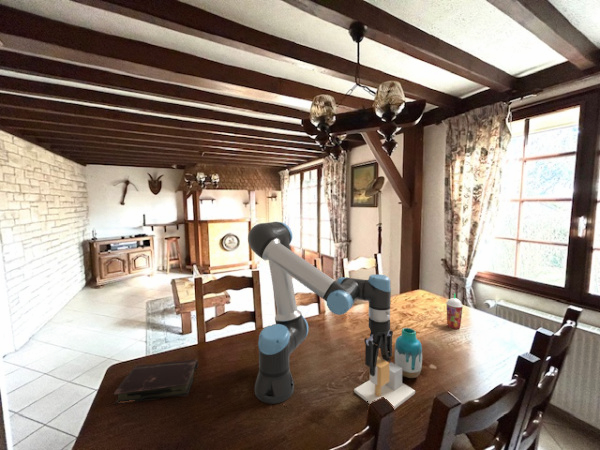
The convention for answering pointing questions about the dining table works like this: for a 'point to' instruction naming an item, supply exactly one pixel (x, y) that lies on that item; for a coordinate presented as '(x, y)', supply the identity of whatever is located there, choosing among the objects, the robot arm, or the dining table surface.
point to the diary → (157, 381)
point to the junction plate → (387, 388)
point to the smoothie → (454, 312)
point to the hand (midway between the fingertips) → (378, 379)
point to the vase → (408, 353)
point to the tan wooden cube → (382, 372)
